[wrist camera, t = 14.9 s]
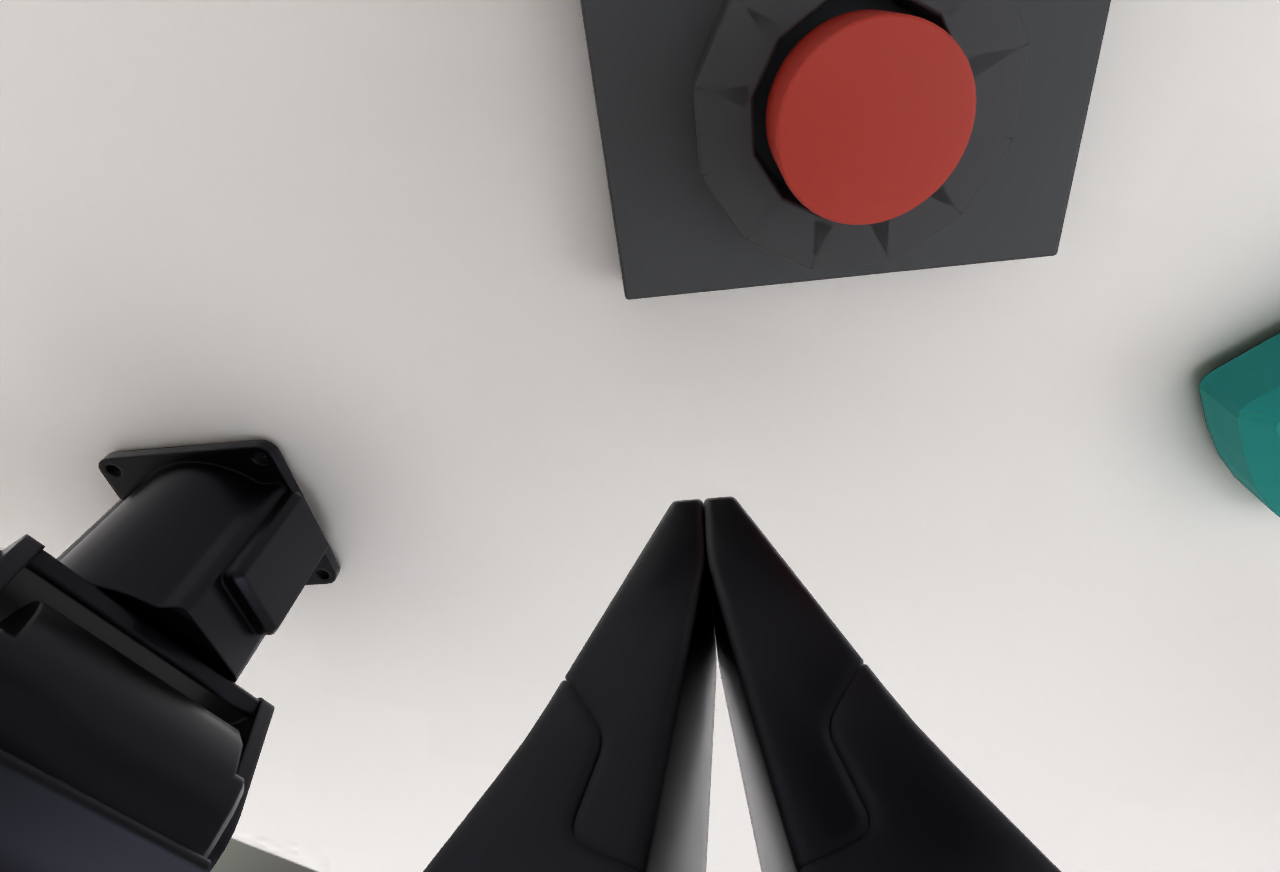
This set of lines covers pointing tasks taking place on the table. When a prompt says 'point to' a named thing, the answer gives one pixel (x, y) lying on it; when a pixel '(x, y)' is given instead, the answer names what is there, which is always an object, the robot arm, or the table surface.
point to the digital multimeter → (1248, 418)
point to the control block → (749, 177)
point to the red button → (870, 115)
